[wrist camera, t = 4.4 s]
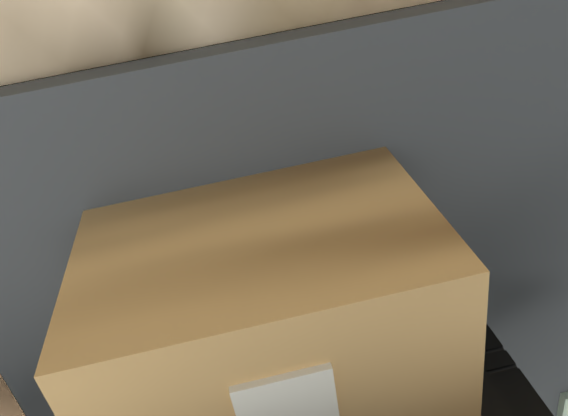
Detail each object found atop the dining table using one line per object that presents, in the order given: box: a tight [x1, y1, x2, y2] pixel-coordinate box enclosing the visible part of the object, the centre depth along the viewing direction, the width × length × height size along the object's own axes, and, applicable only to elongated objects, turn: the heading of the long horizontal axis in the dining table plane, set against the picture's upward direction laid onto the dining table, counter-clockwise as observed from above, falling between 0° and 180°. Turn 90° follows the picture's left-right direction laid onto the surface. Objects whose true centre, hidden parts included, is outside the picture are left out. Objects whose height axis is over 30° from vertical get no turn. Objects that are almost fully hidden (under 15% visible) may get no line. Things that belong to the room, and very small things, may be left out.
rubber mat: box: [0, 0, 568, 416], centre depth 14 cm, size 20×22×1 cm
